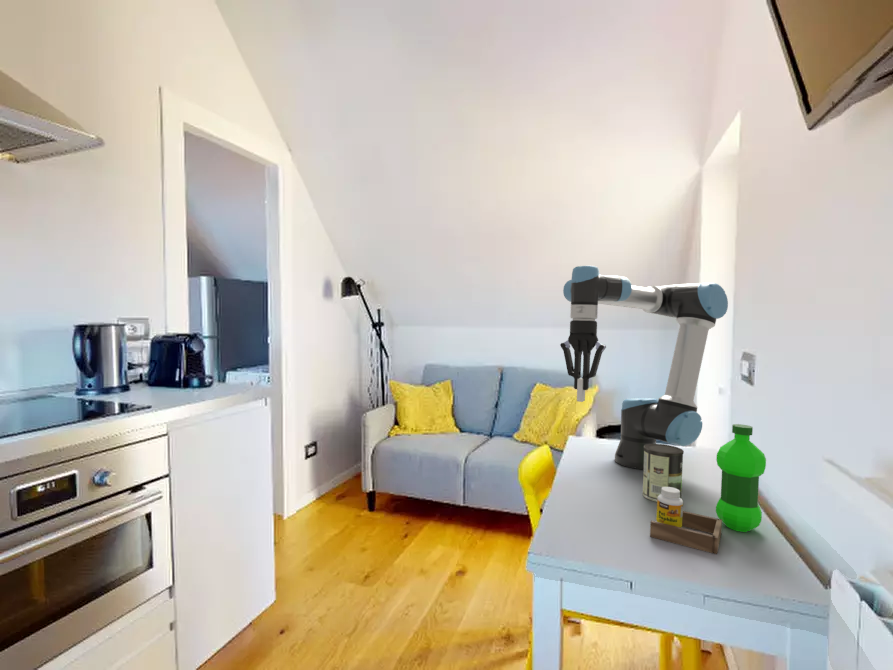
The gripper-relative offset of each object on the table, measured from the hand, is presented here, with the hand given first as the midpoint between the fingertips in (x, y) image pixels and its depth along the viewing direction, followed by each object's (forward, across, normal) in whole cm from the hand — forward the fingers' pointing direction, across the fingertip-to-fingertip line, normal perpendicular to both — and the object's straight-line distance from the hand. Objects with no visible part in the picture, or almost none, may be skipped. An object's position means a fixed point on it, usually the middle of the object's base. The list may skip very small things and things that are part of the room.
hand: (580, 400), depth 137 cm
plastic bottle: (+27, +40, 0) cm, 48 cm away
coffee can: (+27, +21, +10) cm, 35 cm away
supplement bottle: (+27, +26, -14) cm, 40 cm away
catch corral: (+26, +30, -13) cm, 42 cm away
